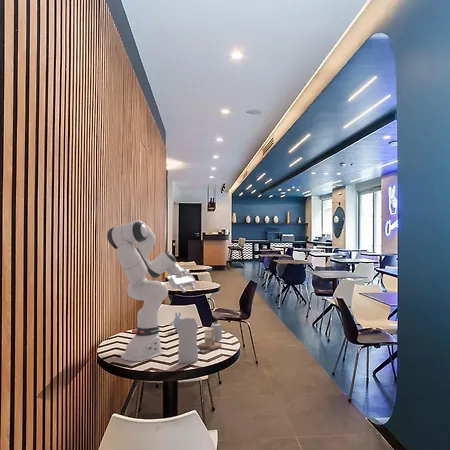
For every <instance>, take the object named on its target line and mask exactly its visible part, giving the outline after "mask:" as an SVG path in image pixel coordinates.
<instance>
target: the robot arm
mask: <svg viewBox="0 0 450 450" xmlns="http://www.w3.org/2000/svg"><path fill="white" fill-rule="evenodd" d="M106 237H107V241H108V243H109V244H110V246H111V247H112V248H114V249H115V250H116V251H115V252H116V256H117V259H118V262H119V264H120V266H121V268H122V270H123V272H124V274H125V275H126V277H127V279H128V285H127V287H126V293H127V295H128V296H129V298H131V299H134V300H136V301H143V306H142V308H140V309H139V310H138V312H137V316H136V317H137V326H136V328H132V329H131V333H132V334H135V335H134V336H133V337H132V338H131V340H130V341H129V342H128V344H126V347H125V353H123V354H122V355H121V356H120V358H121V359H122V360H125V361H129V362H143V361H145V360H149V359H153V358H155V357H159V356H161V355H163V350H162V345H161V338H160V335H159V333H160V325H159V310H160V307H161V304H162V303H163V302H164V300H166V298H167V297H168V294H169V288H168V285H167V284H166V283H165V282H162V281H159V280H149V279H148V278H146V275H147V274H148V276H149V277H150V278H155V279H157V278H159V277H160V276H161V275H162V274H163V273H164V272H166V273H167V276H166V279H167V280H168V281H167V282H169V284H170V286H171V287H172V288H173V289H179V290H180V291H181V292H182V293H183V294H184V293H186V292H187V289H186V288H184V287H188V286H189V287H191V290H192V291H195V290H196V289H197V288H196V286H195V283H196V278H195V277H194V276H193V275H192V273H191V272H190V270H189V269H187V268H184V267H181V266H180V265H179V264H178V263H177V258H176V257H175V256H174V255H173V254H174V253H173V252H171V251H168V250H164V251H162V252H161V253H160V254H159V255H157V257H156V258H154V259H152V260H151V261H150V260H149V258H148V257H149V256H148V255H149V253H150V252H151V250H153V248H154V246H155V244H156V238H157V237H156V235H155V233H154V232H153V230H152V229H151V228H150V227H149V225H148V224H146V223H145V222H144V221H142V220H140V219H134V220H131V221H130V222H129V223H123V224H120V225H118V226H113V227H111V228H109V229H108V231H107V234H106ZM135 244H136V247H135Z"/></svg>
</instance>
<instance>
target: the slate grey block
mask: <svg viewBox="0 0 450 450" xmlns="http://www.w3.org/2000/svg"><path fill="white" fill-rule="evenodd" d="M211 328H214V332H215V342H220V341H222V340H223V335H222V334H223V333H222V331H223V330H222V324H221V323H214V324H212V326H211Z"/></svg>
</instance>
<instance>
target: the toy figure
mask: <svg viewBox="0 0 450 450" xmlns="http://www.w3.org/2000/svg"><path fill="white" fill-rule="evenodd" d="M181 315H182V314H181V312H179V313H177V312H175V314H174V316H175V318H174V319H173V321H172V322H170V323H169V326H170V327H171V326H173V327H174V328H175V329H174V332H177V326H178V325H179V321H180V319H182V317H181Z"/></svg>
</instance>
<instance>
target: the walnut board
mask: <svg viewBox="0 0 450 450" xmlns="http://www.w3.org/2000/svg"><path fill="white" fill-rule="evenodd" d="M197 346H198V350H202V351H214V350H216V351H217V350H218V349H221V348H222V343H220V342H219V341H215V345H213V346H205V341H204V342H201V343H199V344H197Z"/></svg>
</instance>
